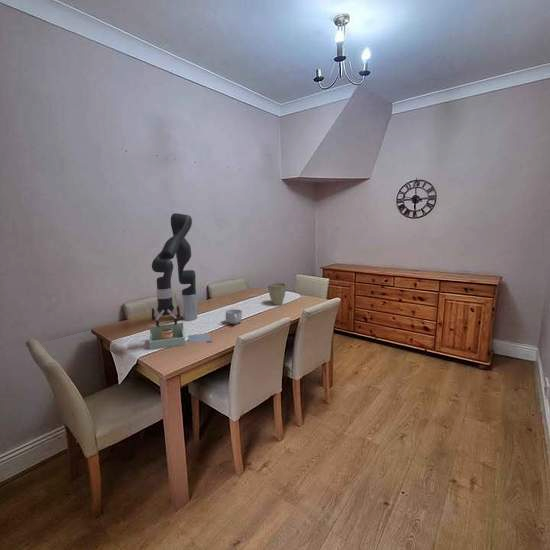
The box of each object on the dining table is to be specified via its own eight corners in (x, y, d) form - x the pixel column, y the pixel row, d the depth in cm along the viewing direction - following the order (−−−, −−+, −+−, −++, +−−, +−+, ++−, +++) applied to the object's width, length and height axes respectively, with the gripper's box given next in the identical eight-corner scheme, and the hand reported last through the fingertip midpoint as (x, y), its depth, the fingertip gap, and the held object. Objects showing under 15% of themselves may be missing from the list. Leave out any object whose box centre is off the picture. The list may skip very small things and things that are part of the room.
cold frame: (150, 341, 170) (149, 325, 168) (183, 337, 176) (182, 322, 174) (149, 351, 157) (148, 334, 156) (185, 346, 163) (184, 330, 161)
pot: (161, 340, 168) (160, 328, 167) (173, 339, 170) (172, 327, 169) (161, 345, 162) (160, 332, 161) (174, 343, 164) (173, 331, 163)
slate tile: (187, 337, 176) (187, 335, 175) (208, 334, 180) (208, 332, 179) (189, 345, 164) (189, 343, 164) (211, 342, 168) (211, 340, 168)
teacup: (226, 320, 205) (226, 308, 203) (242, 319, 206) (242, 308, 204) (224, 327, 191) (224, 315, 190) (241, 326, 192) (241, 314, 191)
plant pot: (287, 301, 249) (287, 282, 246) (285, 306, 235) (285, 286, 232) (269, 300, 251) (269, 282, 248) (266, 306, 237) (266, 286, 234)
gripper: (178, 293, 167) (180, 322, 170) (150, 296, 163) (152, 325, 165) (179, 296, 160) (180, 326, 163) (150, 299, 156) (152, 329, 158)
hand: (166, 325), depth 164 cm, fingers open, 8 cm apart
